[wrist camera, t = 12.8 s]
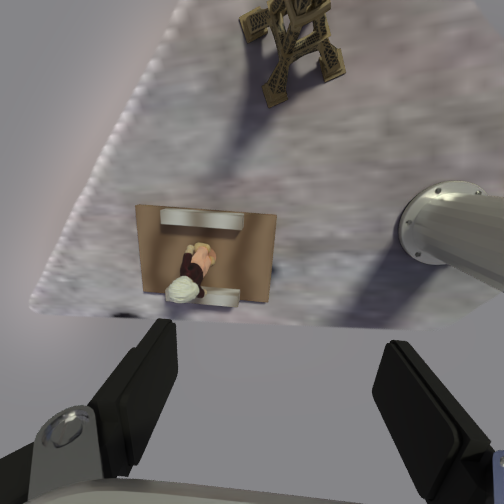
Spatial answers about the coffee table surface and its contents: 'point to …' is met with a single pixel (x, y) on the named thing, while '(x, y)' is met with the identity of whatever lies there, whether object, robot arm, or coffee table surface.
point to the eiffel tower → (293, 40)
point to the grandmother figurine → (191, 274)
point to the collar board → (222, 250)
